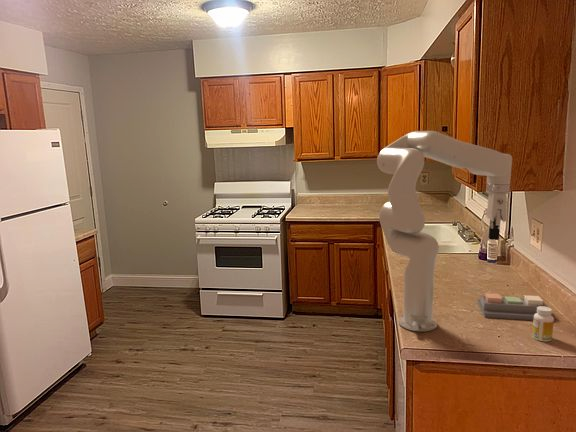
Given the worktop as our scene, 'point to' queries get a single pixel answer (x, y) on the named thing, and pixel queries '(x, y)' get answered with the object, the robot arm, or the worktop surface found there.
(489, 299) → the terracotta key
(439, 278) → the worktop surface
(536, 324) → the supplement bottle
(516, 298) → the sage key
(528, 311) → the console
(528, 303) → the cream key
